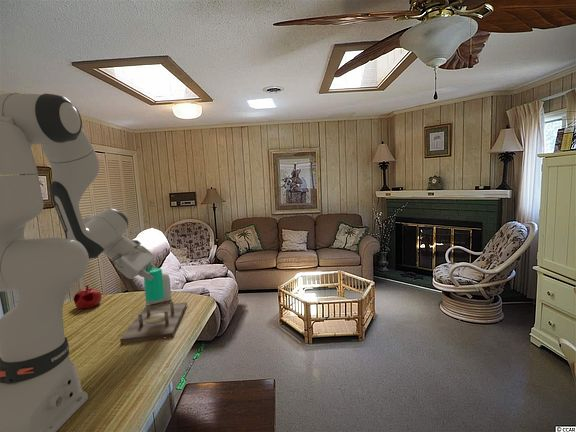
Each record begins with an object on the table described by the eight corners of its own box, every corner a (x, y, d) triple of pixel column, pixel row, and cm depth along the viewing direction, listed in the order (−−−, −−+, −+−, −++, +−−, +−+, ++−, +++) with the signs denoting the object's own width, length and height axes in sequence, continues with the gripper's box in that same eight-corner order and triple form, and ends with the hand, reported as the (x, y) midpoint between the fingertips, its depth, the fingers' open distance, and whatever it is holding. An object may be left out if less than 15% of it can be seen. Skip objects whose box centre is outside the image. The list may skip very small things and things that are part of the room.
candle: (158, 301, 105) (155, 268, 104) (142, 301, 106) (139, 268, 104) (167, 294, 111) (164, 263, 110) (152, 294, 112) (149, 263, 110)
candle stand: (172, 337, 98) (171, 321, 97) (120, 343, 95) (118, 327, 95) (186, 305, 123) (185, 293, 123) (146, 310, 121) (144, 297, 120)
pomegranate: (85, 302, 134) (83, 282, 133) (107, 301, 133) (104, 281, 132) (68, 311, 124) (65, 289, 123) (91, 310, 123) (89, 288, 123)
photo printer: (170, 297, 134) (167, 270, 132) (172, 300, 130) (170, 272, 129) (145, 303, 128) (142, 275, 127) (146, 306, 125) (144, 278, 123)
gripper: (116, 251, 95) (152, 278, 97) (139, 239, 115) (168, 262, 117) (103, 266, 95) (139, 293, 97) (128, 251, 115) (157, 273, 117)
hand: (155, 275), depth 108 cm, fingers closed on candle, 5 cm apart
